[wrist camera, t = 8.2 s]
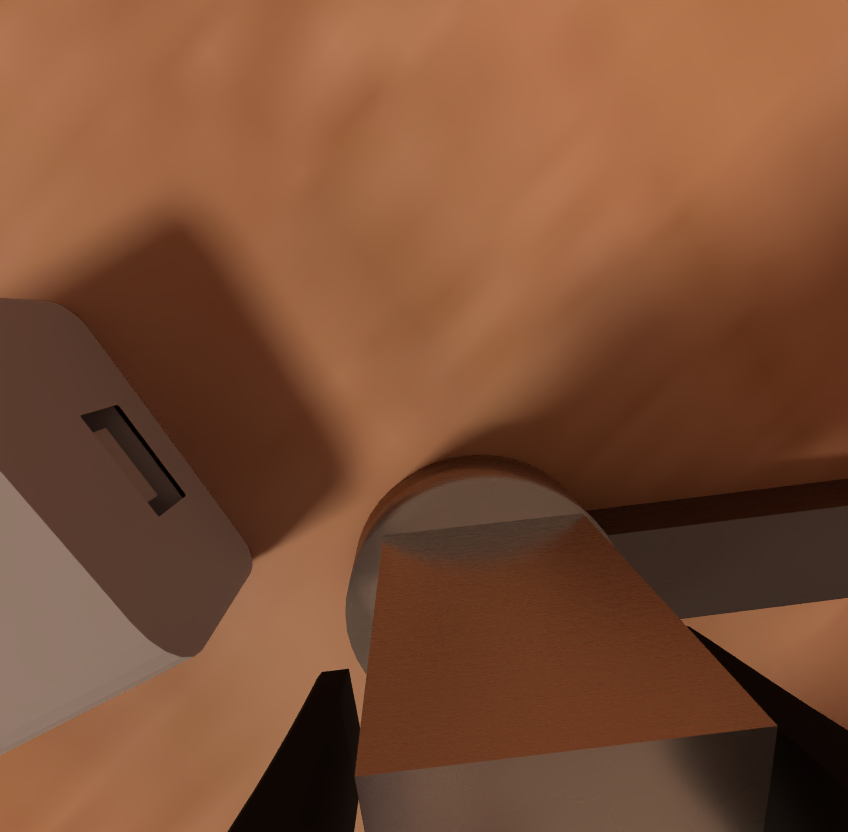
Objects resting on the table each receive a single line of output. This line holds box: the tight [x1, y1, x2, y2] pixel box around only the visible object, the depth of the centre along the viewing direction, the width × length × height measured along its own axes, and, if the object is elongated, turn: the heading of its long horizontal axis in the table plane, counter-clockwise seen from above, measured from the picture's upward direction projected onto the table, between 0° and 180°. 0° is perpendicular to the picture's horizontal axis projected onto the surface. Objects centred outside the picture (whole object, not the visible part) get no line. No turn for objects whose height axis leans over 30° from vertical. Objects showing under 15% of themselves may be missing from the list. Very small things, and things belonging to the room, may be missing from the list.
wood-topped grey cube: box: [355, 513, 778, 832], centre depth 8 cm, size 5×5×6 cm
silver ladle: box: [346, 455, 848, 674], centre depth 11 cm, size 8×19×5 cm, turn 97°
